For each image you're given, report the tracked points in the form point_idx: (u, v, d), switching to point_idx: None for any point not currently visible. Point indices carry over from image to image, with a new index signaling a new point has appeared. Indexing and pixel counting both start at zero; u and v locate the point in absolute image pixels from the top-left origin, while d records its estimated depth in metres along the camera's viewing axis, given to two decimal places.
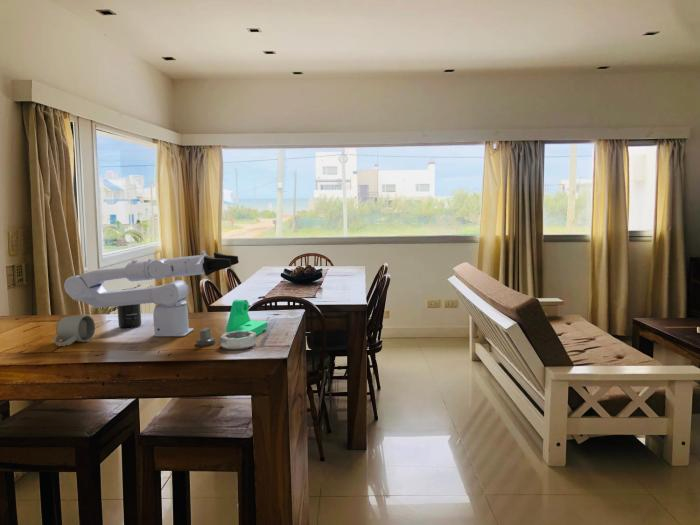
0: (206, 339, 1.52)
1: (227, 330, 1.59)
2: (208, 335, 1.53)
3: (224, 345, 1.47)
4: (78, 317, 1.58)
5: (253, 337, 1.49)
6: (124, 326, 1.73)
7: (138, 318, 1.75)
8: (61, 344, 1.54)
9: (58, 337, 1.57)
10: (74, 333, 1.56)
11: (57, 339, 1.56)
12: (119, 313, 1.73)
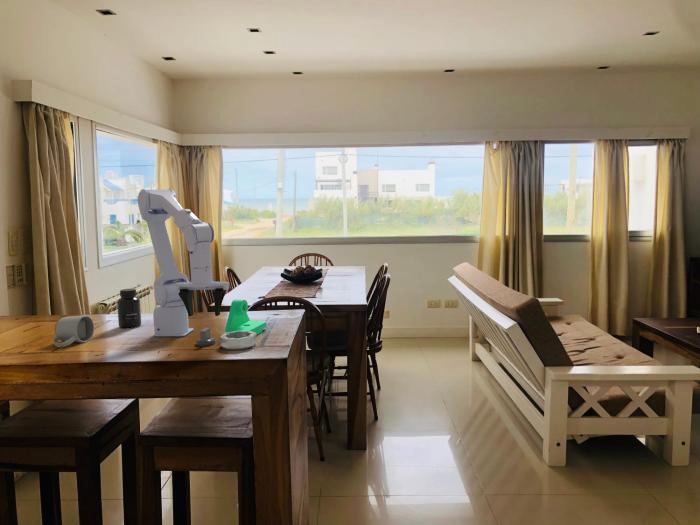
0: (206, 339, 1.52)
1: (226, 330, 1.59)
2: (208, 335, 1.53)
3: (224, 345, 1.47)
4: (77, 317, 1.57)
5: (253, 337, 1.49)
6: (124, 326, 1.73)
7: (138, 318, 1.75)
8: (60, 345, 1.53)
9: (57, 337, 1.56)
10: (73, 333, 1.55)
11: (56, 339, 1.56)
12: (119, 313, 1.73)
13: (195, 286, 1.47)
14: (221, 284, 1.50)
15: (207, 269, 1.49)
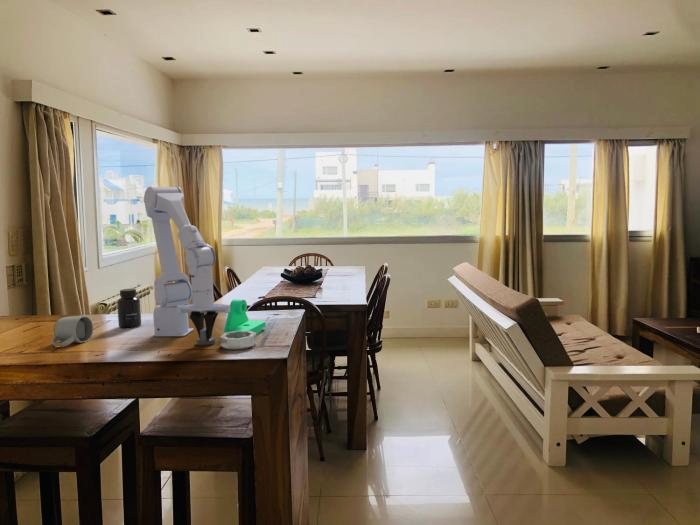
0: (206, 339, 1.52)
1: (225, 330, 1.59)
2: None
3: (224, 345, 1.47)
4: (76, 318, 1.57)
5: (253, 337, 1.49)
6: (124, 326, 1.73)
7: (138, 318, 1.75)
8: (59, 345, 1.53)
9: (56, 338, 1.56)
10: (72, 334, 1.55)
11: (55, 340, 1.55)
12: (119, 313, 1.73)
13: (196, 309, 1.48)
14: (222, 307, 1.51)
15: (208, 292, 1.50)
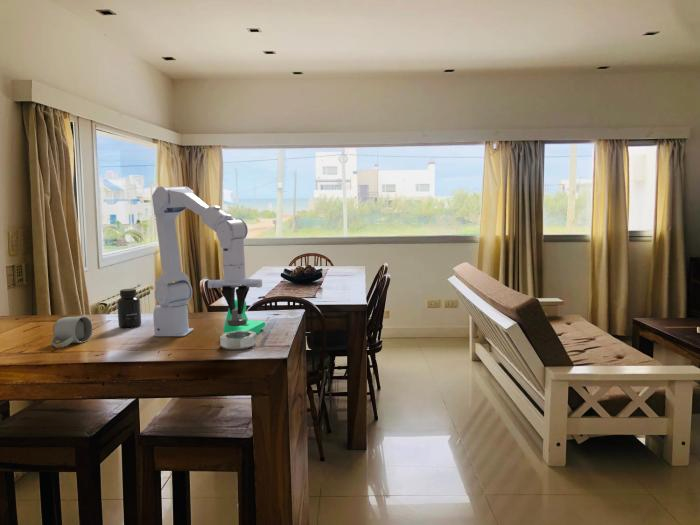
0: (238, 319, 1.48)
1: (224, 330, 1.59)
2: (239, 315, 1.50)
3: (224, 345, 1.47)
4: (75, 318, 1.56)
5: (253, 337, 1.49)
6: (124, 326, 1.73)
7: (138, 318, 1.75)
8: (58, 345, 1.52)
9: (55, 338, 1.56)
10: (71, 334, 1.54)
11: (54, 340, 1.55)
12: (119, 313, 1.73)
13: (228, 284, 1.44)
14: (254, 282, 1.47)
15: (240, 266, 1.46)
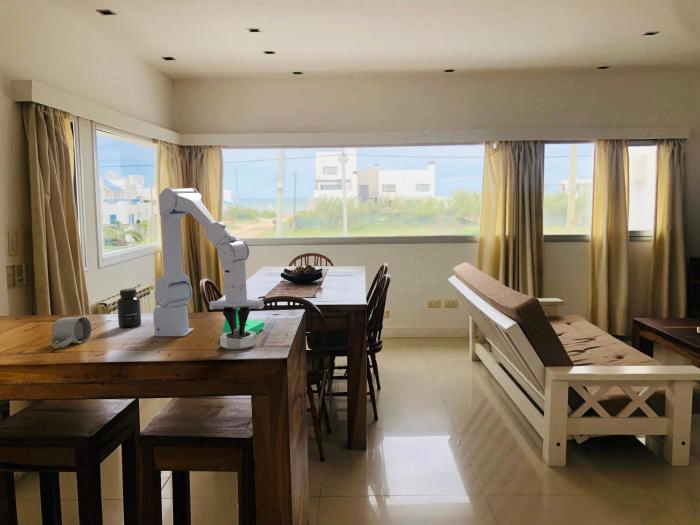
0: None
1: (224, 330, 1.59)
2: (241, 335, 1.50)
3: (224, 345, 1.47)
4: (74, 318, 1.56)
5: (253, 337, 1.49)
6: (124, 326, 1.73)
7: (138, 318, 1.75)
8: (57, 346, 1.52)
9: (54, 338, 1.55)
10: (70, 334, 1.54)
11: (53, 340, 1.55)
12: (119, 313, 1.73)
13: (230, 305, 1.45)
14: (256, 303, 1.47)
15: (242, 288, 1.47)
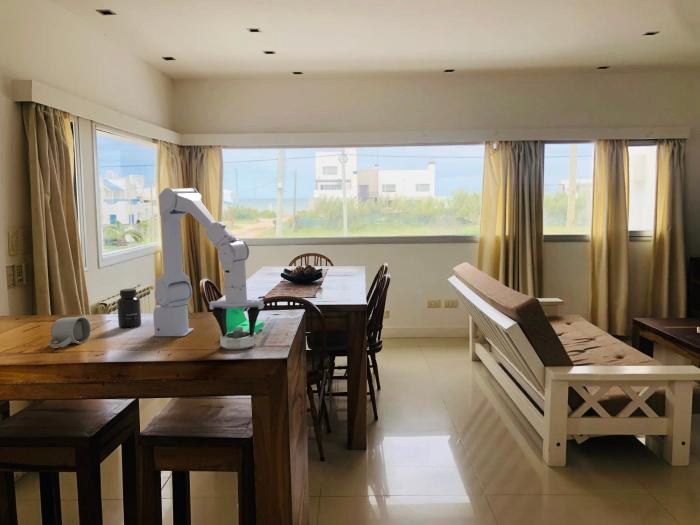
0: None
1: None
2: (241, 335, 1.50)
3: (224, 345, 1.47)
4: (73, 319, 1.56)
5: (253, 337, 1.49)
6: (124, 326, 1.73)
7: (138, 318, 1.75)
8: (56, 346, 1.52)
9: (53, 339, 1.55)
10: (69, 335, 1.54)
11: (52, 341, 1.54)
12: (119, 313, 1.73)
13: (230, 305, 1.45)
14: (256, 303, 1.47)
15: (242, 288, 1.47)
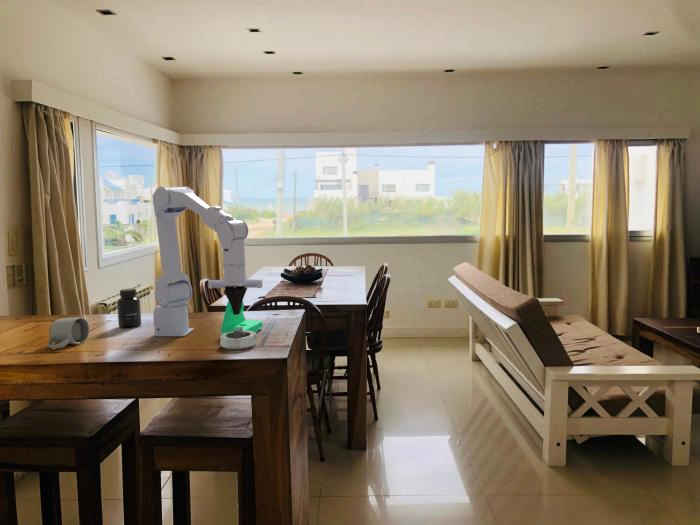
0: None
1: (222, 330, 1.59)
2: (241, 335, 1.50)
3: (224, 345, 1.47)
4: (72, 319, 1.55)
5: (253, 337, 1.49)
6: (124, 326, 1.73)
7: (138, 318, 1.75)
8: (54, 347, 1.51)
9: (51, 339, 1.54)
10: (67, 335, 1.53)
11: (50, 341, 1.54)
12: (119, 313, 1.73)
13: (229, 284, 1.45)
14: (255, 282, 1.47)
15: (241, 267, 1.46)
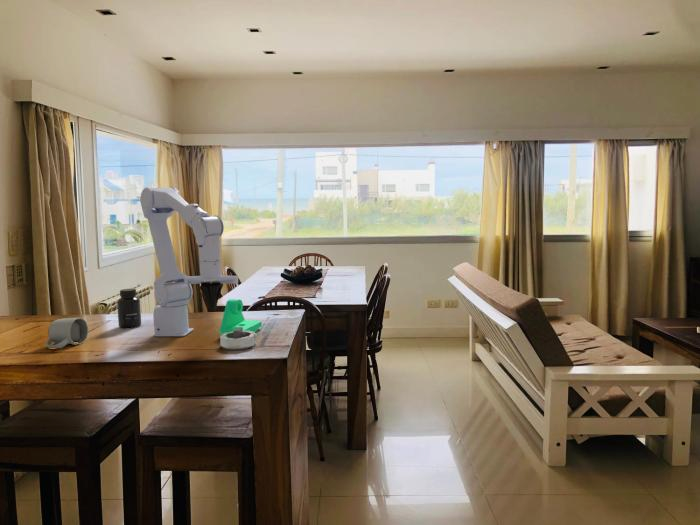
0: None
1: (221, 330, 1.59)
2: (241, 335, 1.50)
3: (224, 345, 1.47)
4: (70, 320, 1.55)
5: (253, 337, 1.49)
6: (124, 326, 1.73)
7: (138, 318, 1.75)
8: (53, 347, 1.51)
9: (50, 340, 1.54)
10: (66, 336, 1.53)
11: (49, 342, 1.53)
12: (119, 313, 1.73)
13: (204, 280, 1.46)
14: (230, 278, 1.48)
15: (216, 263, 1.47)
